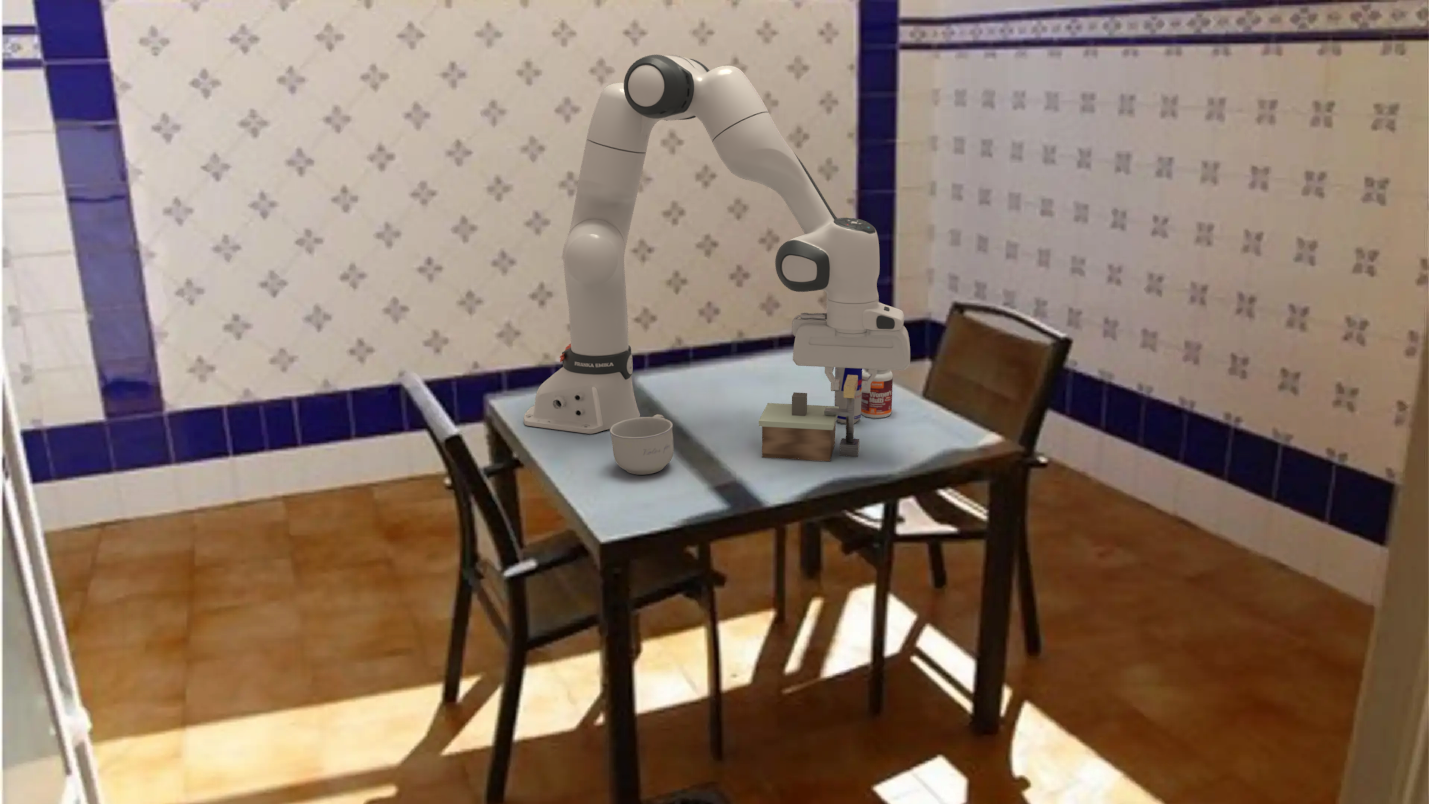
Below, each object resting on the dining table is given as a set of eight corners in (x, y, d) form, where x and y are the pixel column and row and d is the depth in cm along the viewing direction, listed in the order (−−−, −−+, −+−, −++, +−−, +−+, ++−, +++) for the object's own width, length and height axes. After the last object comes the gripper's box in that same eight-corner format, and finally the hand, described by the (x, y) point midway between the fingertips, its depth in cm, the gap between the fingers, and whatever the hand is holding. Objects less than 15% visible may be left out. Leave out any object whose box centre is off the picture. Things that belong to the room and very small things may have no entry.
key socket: (839, 455, 210) (839, 444, 209) (841, 449, 213) (841, 438, 212) (857, 456, 209) (857, 445, 209) (859, 450, 212) (859, 439, 212)
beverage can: (859, 425, 225) (861, 349, 220) (832, 424, 226) (834, 348, 221) (862, 416, 230) (863, 342, 225) (835, 415, 231) (836, 341, 226)
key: (822, 446, 208) (822, 385, 205) (826, 433, 215) (827, 373, 211) (852, 448, 207) (854, 387, 204) (856, 434, 214) (857, 375, 210)
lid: (758, 430, 208) (758, 401, 206) (767, 412, 217) (767, 384, 216) (832, 434, 206) (833, 405, 204) (838, 415, 215) (839, 387, 213)
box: (762, 457, 210) (762, 425, 208) (770, 440, 218) (770, 409, 217) (829, 461, 208) (830, 429, 206) (835, 443, 216) (835, 412, 214)
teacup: (650, 484, 199) (649, 440, 196) (599, 472, 204) (597, 429, 202) (695, 458, 210) (694, 416, 208) (645, 448, 216) (644, 406, 213)
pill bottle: (869, 420, 228) (871, 364, 224) (854, 411, 233) (855, 355, 230) (897, 416, 230) (899, 360, 226) (881, 406, 235) (882, 352, 232)
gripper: (789, 316, 202) (789, 393, 207) (910, 321, 198) (907, 399, 203) (794, 307, 208) (794, 383, 213) (912, 311, 204) (909, 388, 209)
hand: (850, 391), depth 208 cm, fingers open, 4 cm apart
